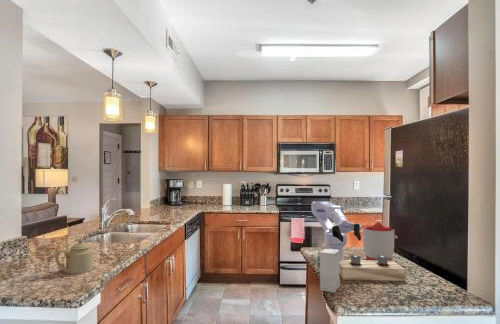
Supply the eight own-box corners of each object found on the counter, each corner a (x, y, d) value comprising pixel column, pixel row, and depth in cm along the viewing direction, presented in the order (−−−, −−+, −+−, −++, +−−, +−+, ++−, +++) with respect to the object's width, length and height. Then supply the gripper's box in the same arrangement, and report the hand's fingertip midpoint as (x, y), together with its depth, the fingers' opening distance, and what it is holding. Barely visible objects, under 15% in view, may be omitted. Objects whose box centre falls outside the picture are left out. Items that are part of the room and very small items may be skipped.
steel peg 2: (376, 265, 142) (376, 255, 142) (385, 265, 142) (385, 255, 142) (379, 268, 138) (379, 257, 138) (389, 268, 138) (389, 257, 138)
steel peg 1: (349, 265, 143) (349, 254, 143) (358, 265, 143) (358, 254, 143) (352, 267, 139) (352, 257, 139) (361, 267, 139) (361, 257, 139)
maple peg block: (336, 270, 147) (336, 259, 147) (392, 271, 146) (392, 260, 146) (343, 279, 135) (343, 268, 135) (405, 280, 134) (404, 268, 134)
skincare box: (334, 293, 120) (334, 254, 120) (319, 290, 123) (319, 252, 123) (340, 286, 127) (340, 249, 127) (325, 283, 130) (325, 247, 130)
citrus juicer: (404, 265, 156) (403, 224, 156) (368, 264, 156) (368, 224, 157) (390, 256, 172) (390, 219, 172) (358, 256, 172) (358, 219, 172)
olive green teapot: (75, 278, 135) (75, 242, 136) (53, 276, 137) (53, 241, 138) (98, 267, 150) (98, 235, 150) (78, 266, 152) (78, 234, 152)
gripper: (326, 215, 147) (335, 233, 135) (356, 213, 148) (368, 230, 135) (325, 228, 150) (334, 246, 138) (355, 225, 151) (367, 243, 138)
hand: (351, 239), depth 137 cm, fingers open, 7 cm apart
